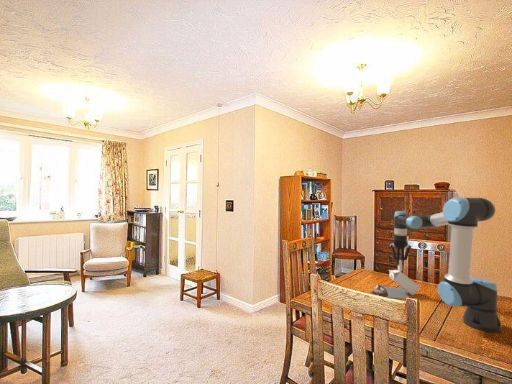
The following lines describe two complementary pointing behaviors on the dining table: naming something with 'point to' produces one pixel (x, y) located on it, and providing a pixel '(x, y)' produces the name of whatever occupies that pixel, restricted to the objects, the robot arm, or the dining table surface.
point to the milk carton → (404, 281)
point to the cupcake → (380, 291)
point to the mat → (397, 293)
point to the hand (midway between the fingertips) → (399, 270)
